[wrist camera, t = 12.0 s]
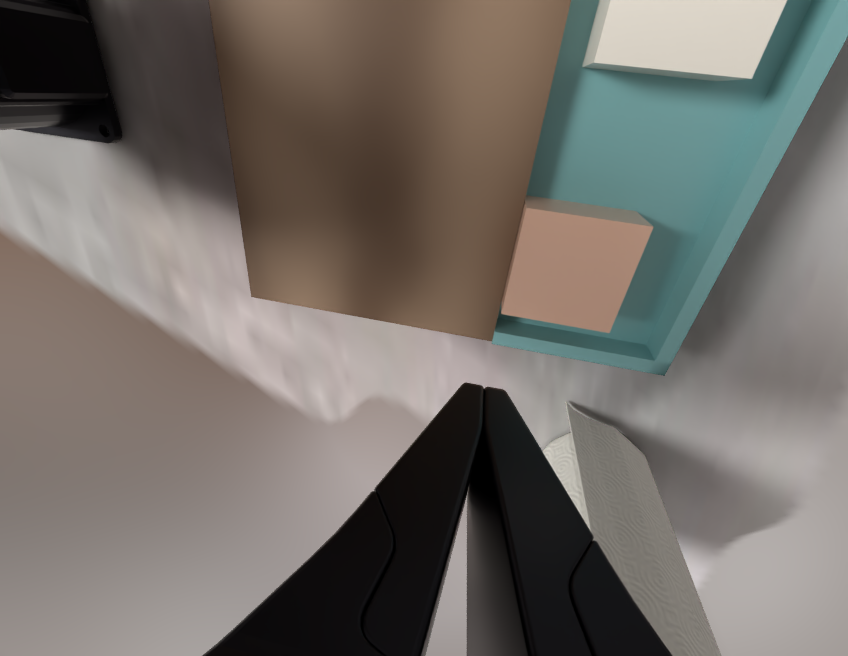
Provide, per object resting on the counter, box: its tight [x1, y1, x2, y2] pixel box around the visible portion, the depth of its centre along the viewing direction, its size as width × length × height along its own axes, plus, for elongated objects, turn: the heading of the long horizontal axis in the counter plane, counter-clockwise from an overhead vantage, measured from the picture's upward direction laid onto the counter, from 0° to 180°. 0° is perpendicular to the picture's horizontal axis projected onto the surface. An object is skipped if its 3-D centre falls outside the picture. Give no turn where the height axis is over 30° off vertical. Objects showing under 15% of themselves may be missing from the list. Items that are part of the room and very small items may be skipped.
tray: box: [492, 0, 848, 376], centre depth 13 cm, size 7×16×3 cm, turn 174°
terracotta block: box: [501, 195, 653, 333], centre depth 14 cm, size 4×4×2 cm
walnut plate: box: [208, 0, 571, 341], centre depth 14 cm, size 11×16×3 cm
